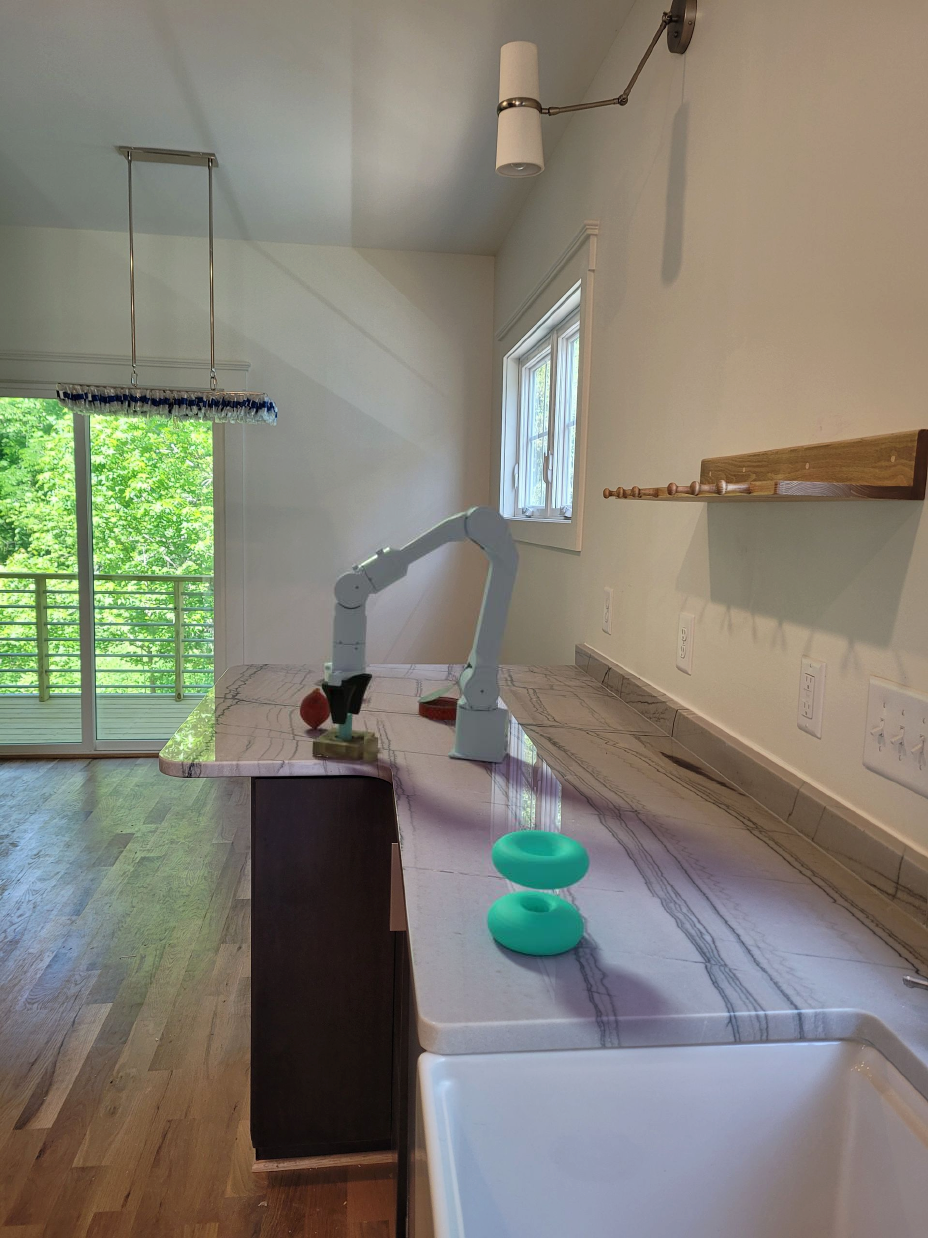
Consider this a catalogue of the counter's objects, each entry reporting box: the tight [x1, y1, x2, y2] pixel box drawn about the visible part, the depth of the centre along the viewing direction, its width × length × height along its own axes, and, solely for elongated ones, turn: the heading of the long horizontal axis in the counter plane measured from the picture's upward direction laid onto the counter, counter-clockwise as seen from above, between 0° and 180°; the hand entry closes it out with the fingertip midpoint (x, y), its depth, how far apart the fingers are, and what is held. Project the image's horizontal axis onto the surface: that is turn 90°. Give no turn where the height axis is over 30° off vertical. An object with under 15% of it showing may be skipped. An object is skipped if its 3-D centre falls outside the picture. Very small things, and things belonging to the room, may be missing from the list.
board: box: [311, 727, 376, 762], centre depth 153 cm, size 8×10×2 cm
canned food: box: [418, 681, 460, 721], centre depth 184 cm, size 11×10×10 cm
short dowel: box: [362, 735, 379, 764], centre depth 148 cm, size 2×2×4 cm
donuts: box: [486, 829, 590, 956], centre depth 90 cm, size 10×10×10 cm
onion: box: [299, 686, 331, 729], centre depth 167 cm, size 6×6×8 cm
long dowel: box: [337, 713, 354, 740], centre depth 153 cm, size 2×2×6 cm
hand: (346, 718), depth 153 cm, fingers open, 7 cm apart
